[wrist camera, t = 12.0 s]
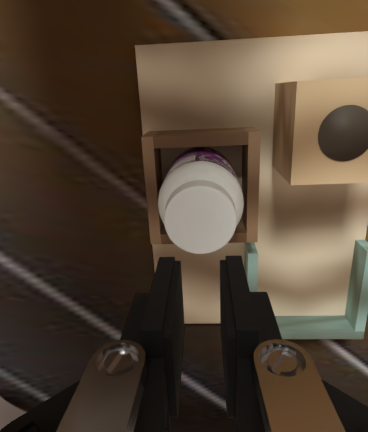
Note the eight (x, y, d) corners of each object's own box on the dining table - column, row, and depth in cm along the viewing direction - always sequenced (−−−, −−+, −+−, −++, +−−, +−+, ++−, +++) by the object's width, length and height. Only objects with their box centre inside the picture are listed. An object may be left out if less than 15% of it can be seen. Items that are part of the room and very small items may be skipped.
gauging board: (136, 46, 25) (128, 41, 22) (390, 31, 24) (416, 23, 21) (160, 318, 33) (156, 339, 30) (348, 317, 32) (363, 338, 29)
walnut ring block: (148, 131, 26) (141, 137, 23) (253, 126, 25) (260, 132, 22) (156, 227, 29) (150, 244, 25) (251, 224, 28) (257, 242, 25)
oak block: (275, 83, 24) (297, 80, 19) (360, 78, 24) (409, 74, 18) (271, 165, 26) (290, 185, 21) (350, 162, 26) (391, 182, 20)
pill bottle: (248, 180, 27) (272, 226, 18) (199, 222, 28) (198, 283, 19) (203, 130, 26) (204, 151, 17) (154, 176, 27) (130, 218, 18)
